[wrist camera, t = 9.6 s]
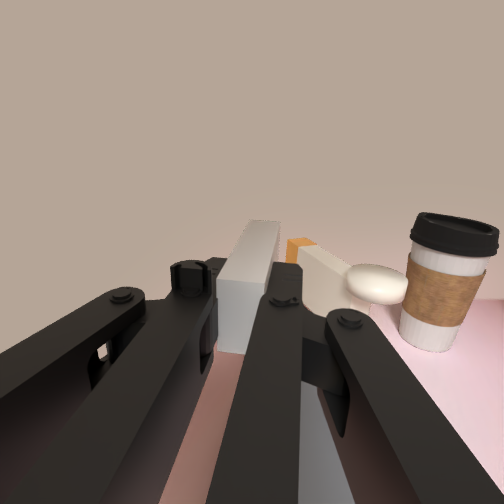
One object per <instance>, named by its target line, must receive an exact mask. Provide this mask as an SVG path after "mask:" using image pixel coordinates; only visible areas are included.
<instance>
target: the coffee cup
mask: <svg viewBox="0 0 504 504" xmlns="http://www.w3.org/2000/svg"><path fill="white" fill-rule="evenodd" d="M410 238H411V240H413V242H412V248H411V252H410V253H409V256H408V263H407V272H406V278H407V279H408V285H407V289H406V293H405V298H404V300H403V303H402V312H401V319H400V325H399V333H400V335H401V337H402V338H403V339H404V340H405V341H406V342H408V343H409V344H411V345H413V346H415V347H417V348H420V349H422V350H426V351H430V352H444V351H447V350H449V349H450V348H451V346H452V344H453V342H454V339H455V337H456V335H457V333H458V330H459V328H460V326H461V323H462V322H463V320H464V318H465V316H466V314H467V312H468V310H469V307H470V305H471V303H472V301H473V299H474V297H475V294H476V292H477V290H478V288H479V286H480V284H481V282H482V280H483V278H484V276H485V274H486V269H485V268H486V266H487V263H488V261H489V259H490V256H494V255H495V254H497V249H498V248H499V244H498V238H499V229H497V228H496V227H494V226H491V225H489V224H486V223H482V222H479V221H475V220H471V219H466V218H460V217H454V216H448V215H441V214H435V213H427V212H422V213H419V214H418V216H417V218H416V221H415V224H414V226H413V228H412V229H411V234H410Z"/></svg>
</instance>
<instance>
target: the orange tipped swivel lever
mask: <svg viewBox="0 0 504 504" xmlns="http://www.w3.org/2000/svg"><path fill="white" fill-rule="evenodd" d="M285 263H295V264H299V266H300V267H301V268H302V269H303V287H302V301H303V304H304V305H306V306H307V307H308V308H309V309H310V310H311V311H312V312H313V313H314V314H317V315H319V316H323V317H326V316H327V314H328V313H329V312H330V311H332V310H334V309H340V308H347V309H348V308H350V309H354V310H358V311H360V312H362V313H364V314H366V315H369V311H370V306H371V303H374V304H380V305H394V304H398V303H400V302H402V301H403V300H404V298H405V293H406V289H407V285H408V279H407V278H406V277H405V276H404V275H403V274H401V273H400V272H398V271H396V270H393V269H391V268H388V267H384V266H380V265H372V264H359V265H354V266H351V265H349V264H348V263H346V262H344V261H343V260H341V259H339V258H338V257H336V256H334V255H333V254H331V253H329V252H328V251H326V250H324V249H323V248H321V247H319V246H317V244H316V243H314V242H312V241H311V240H309V239H307V238H297V239H288V240H287V251H286V262H285Z"/></svg>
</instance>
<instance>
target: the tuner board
mask: <svg viewBox="0 0 504 504" xmlns="http://www.w3.org/2000/svg"><path fill="white" fill-rule="evenodd" d="M298 504H355V502H354V499H353V496H352V493H351V490H350V488H349V485H348V482H347V479H346V476H345V473H344V470H343V467H342V464H341V461H340V459H339V456H338V453H337V450H336V447H335V444H334V441H333V438H332V435H331V432H330V430H329V427H328V424H327V421H326V418H325V415H324V412H323V409H322V406H321V403H320V401H319V398H318V395H317V387H316V386H313V385H311V384H308V383H306V382H303V381H301V411H300V450H299V490H298Z"/></svg>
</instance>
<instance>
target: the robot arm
mask: <svg viewBox="0 0 504 504" xmlns="http://www.w3.org/2000/svg"><path fill="white" fill-rule="evenodd" d="M280 223H281V222H276V221H261V220H250V221H249V222H248V224H247V226H246V228H245V229H244V231H243V233H242V235H241V236H240V238H239V240H238V242H237V243H236V245H235V247H234V249H233V251H232V252H231V254H230V256H229V257H228V258H217V257H212V258H210V259H208V260H207V261H205V262H204V261H199V260H186V261H180V262H177V263H175V264H173V265H172V266H170V271H171V286H172V290H171V292H170V293H169V294H168V295H167V297H166V298H165V299H160V300H146V301H145V294H144V292H143V291H142V290H140V289H138V288H133V287H120V288H117V289H113V290H110V291H108V292H106V293H104V294H102V295H101V296H99V297H97V298H95V299H94V300H92V301H90V302H89V303H87V304H85V305H83V306H82V307H80V308H78V309H76V310H75V311H73V312H71V313H70V314H68V315H66V316H64V317H63V318H61V319H59V320H58V321H56V322H54V323H52V324H51V325H49V326H47V327H46V328H44V329H42V330H40V331H39V332H37V333H35V334H33V335H32V336H30V337H28V338H27V339H25V340H23V341H21V342H20V343H18V344H16V345H14V346H13V347H11V348H9V349H8V350H6V351H4V352H2V353H1V354H0V504H158V503H159V501H160V498H161V495H162V493H163V490H164V488H165V485H166V482H167V480H168V477H169V475H170V472H171V469H172V467H173V464H174V462H175V459H176V456H177V454H178V451H179V449H180V446H181V443H182V441H183V438H184V436H185V433H186V430H187V428H188V425H189V423H190V420H191V417H192V415H193V412H194V410H195V407H196V404H197V402H198V399H199V397H200V394H201V391H202V389H203V386H204V384H205V381H206V378H207V376H208V373H209V371H210V368H211V365H212V363H213V357H214V354H213V347H214V345H215V342H216V340H217V351H220V352H228V353H236V354H244V355H245V357H244V361H243V365H242V369H241V372H240V376H239V380H238V384H237V387H236V391H235V395H234V399H233V402H232V406H231V410H230V414H229V417H228V421H227V425H226V429H225V432H224V436H223V440H222V443H221V447H220V451H219V455H218V458H217V462H216V466H215V470H214V473H213V477H212V481H211V485H210V488H209V492H208V496H207V500H206V503H205V504H298V490H299V450H300V411H301V381H303V382H306V383H308V384H311V385H313V386H316V387H317V395H318V398H319V401H320V403H321V406H322V409H323V412H324V415H325V418H326V421H327V424H328V427H329V430H330V432H331V435H332V438H333V441H334V444H335V447H336V450H337V453H338V456H339V459H340V461H341V464H342V467H343V470H344V473H345V476H346V479H347V482H348V485H349V488H350V490H351V493H352V496H353V499H354V502H355V504H504V495H503V493H502V492H501V491H500V489H499V488H498V487H497V485H496V484H495V483H494V481H493V480H492V479H491V477H490V476H489V475H488V473H487V472H486V471H485V469H484V468H483V467H482V465H481V464H480V463H479V461H478V460H477V459H476V457H475V456H474V455H473V453H472V452H471V451H470V449H469V448H468V447H467V445H466V444H465V443H464V441H463V440H462V439H461V437H460V436H459V435H458V433H457V432H456V430H455V429H454V428H453V426H452V425H451V424H450V422H449V421H448V420H447V418H446V417H445V416H444V414H443V413H442V412H441V410H440V409H439V408H438V406H437V405H436V404H435V402H434V401H433V400H432V398H431V397H430V396H429V394H428V393H427V392H426V390H425V389H424V388H423V386H422V385H421V384H420V382H419V381H418V380H417V378H416V377H415V376H414V374H413V373H412V372H411V370H410V369H409V368H408V366H407V365H406V364H405V362H404V361H403V359H402V358H401V357H400V355H399V354H398V353H397V351H396V350H395V349H394V347H393V346H392V345H391V343H390V342H389V341H388V339H387V338H386V337H385V335H384V334H383V333H382V331H381V330H380V329H379V327H378V326H377V325H376V323H375V322H374V321H373V320H372V319H371V318H370V317H369V316H368V315H366V314H364V313H362V312H360V311H358V310H354V309H350V308H348V309H347V308H340V309H334V310H332V311H330V312H329V313H328V314H327V316H326V317H323V316H319V315H317V314H314V313H312V312H310V311H309V310H308V309H306V308H305V306H304V305H303V301H302V287H303V269H302V268H301V267H300V266H299V264H295V263H283V262H278V254H279V239H280ZM105 343H106V348H107V355H106V356H105V357H103V358H101V359H99V357H98V351H97V349H98V348H99V347H101V346H102V345H103V344H105Z"/></svg>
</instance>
